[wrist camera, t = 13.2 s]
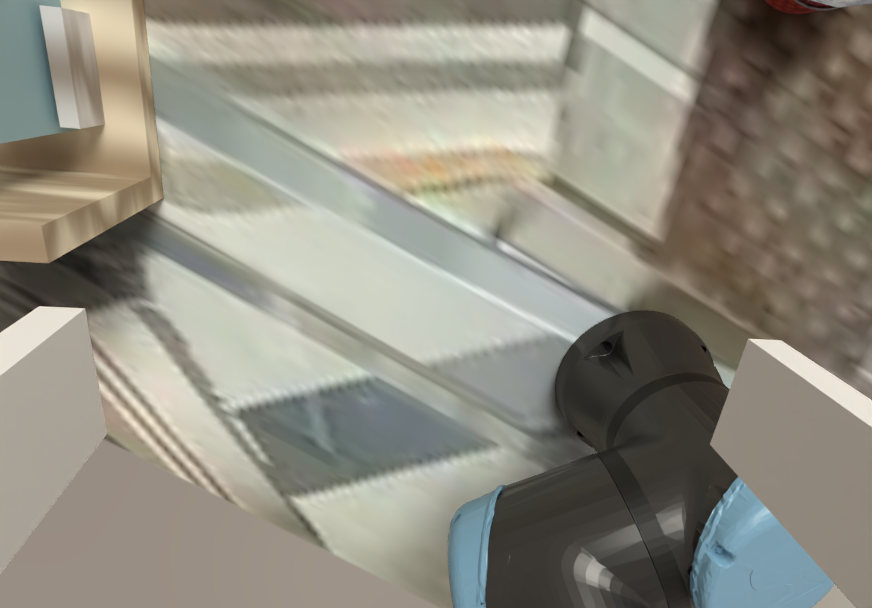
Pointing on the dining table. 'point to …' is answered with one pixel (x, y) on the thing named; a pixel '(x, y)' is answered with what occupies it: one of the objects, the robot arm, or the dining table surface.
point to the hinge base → (84, 135)
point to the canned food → (812, 5)
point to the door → (25, 73)
